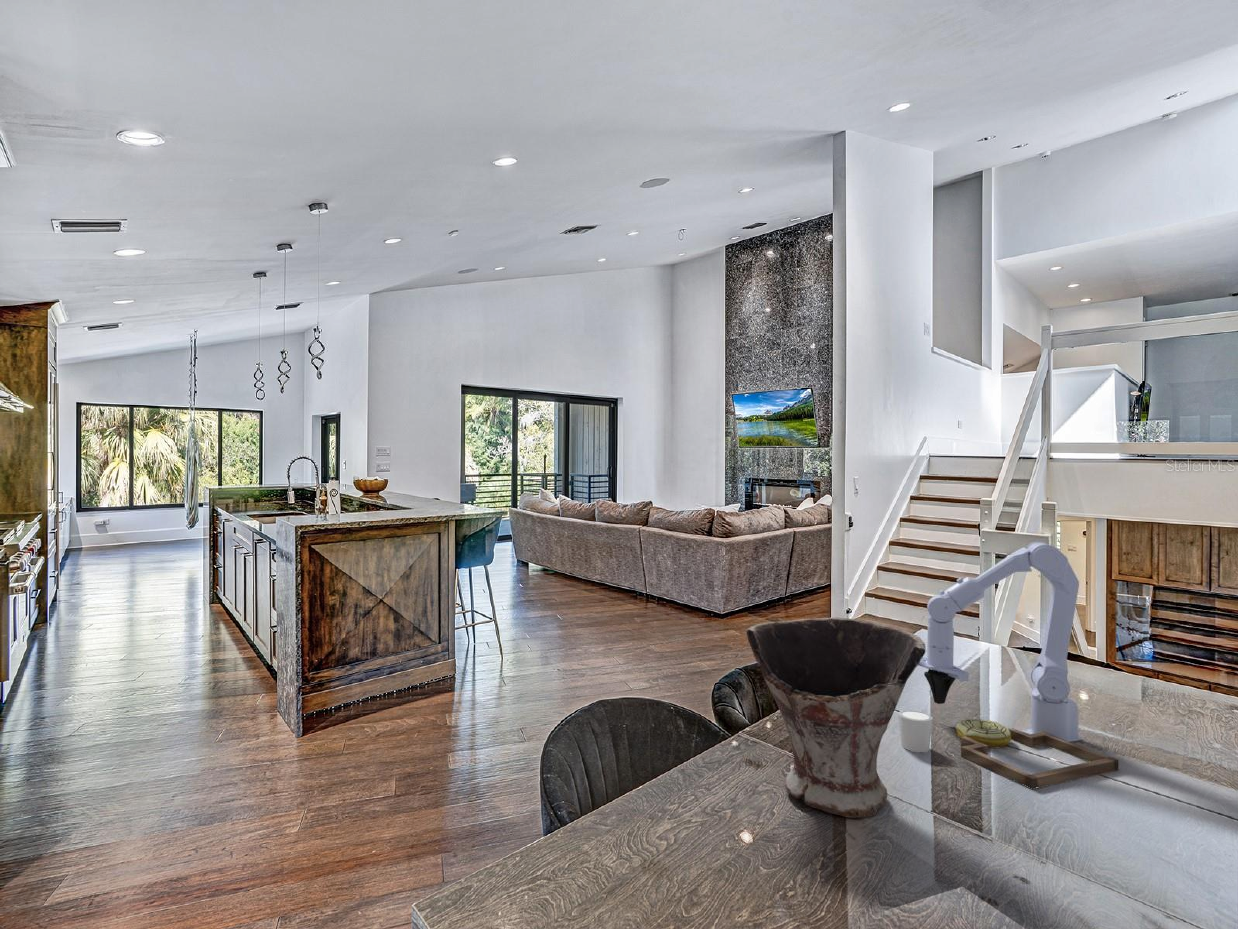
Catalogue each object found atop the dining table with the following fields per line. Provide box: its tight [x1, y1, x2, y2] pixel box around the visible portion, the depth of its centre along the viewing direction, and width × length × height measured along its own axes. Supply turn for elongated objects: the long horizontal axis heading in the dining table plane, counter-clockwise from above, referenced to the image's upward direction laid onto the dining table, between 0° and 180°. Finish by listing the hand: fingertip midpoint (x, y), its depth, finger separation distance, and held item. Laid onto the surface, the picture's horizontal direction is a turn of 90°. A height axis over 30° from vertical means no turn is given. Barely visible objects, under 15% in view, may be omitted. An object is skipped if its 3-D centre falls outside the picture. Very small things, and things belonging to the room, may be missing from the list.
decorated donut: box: [956, 718, 1012, 749], centre depth 152 cm, size 10×11×4 cm
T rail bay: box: [960, 727, 1120, 790], centre depth 142 cm, size 20×25×2 cm
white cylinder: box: [898, 709, 934, 754], centre depth 147 cm, size 7×7×7 cm
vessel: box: [746, 617, 927, 819], centre depth 125 cm, size 30×27×30 cm
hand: (939, 702), depth 163 cm, fingers closed
